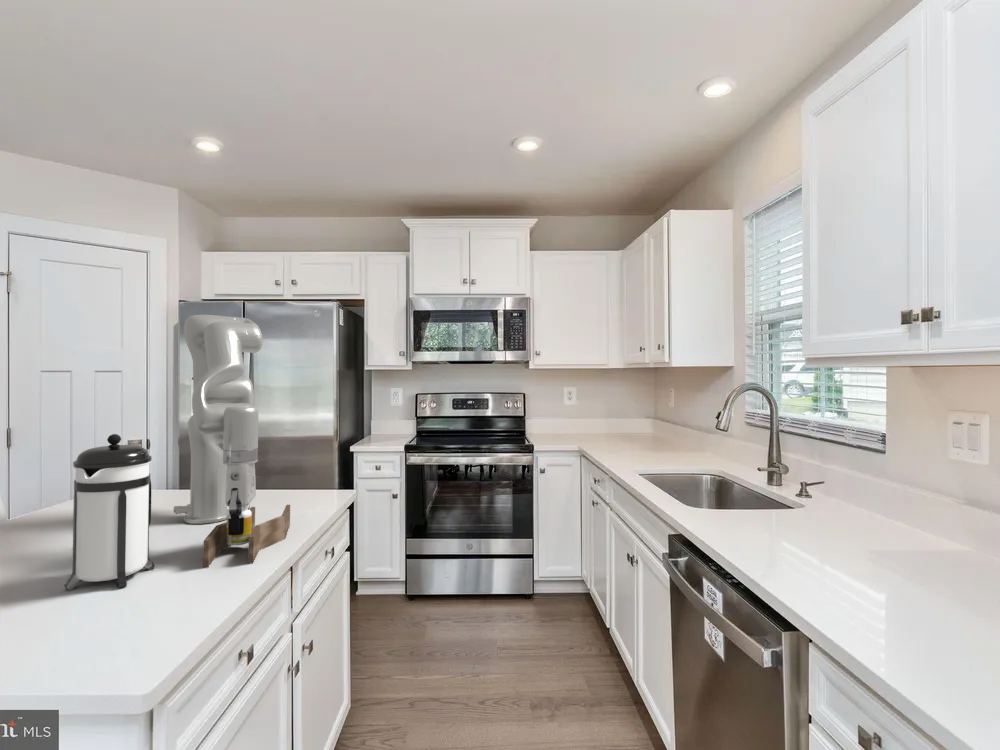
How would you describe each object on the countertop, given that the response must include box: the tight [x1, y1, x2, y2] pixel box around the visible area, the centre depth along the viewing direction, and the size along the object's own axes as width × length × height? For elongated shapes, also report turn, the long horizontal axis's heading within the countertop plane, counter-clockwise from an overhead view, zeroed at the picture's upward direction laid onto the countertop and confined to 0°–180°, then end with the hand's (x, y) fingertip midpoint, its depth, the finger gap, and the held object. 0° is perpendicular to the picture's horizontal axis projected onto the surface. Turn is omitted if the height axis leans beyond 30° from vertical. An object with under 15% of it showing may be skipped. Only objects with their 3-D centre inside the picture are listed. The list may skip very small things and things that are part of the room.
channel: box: [202, 504, 291, 569], centre depth 124 cm, size 15×28×6 cm, turn 18°
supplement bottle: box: [226, 502, 252, 546], centre depth 120 cm, size 5×5×10 cm
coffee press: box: [63, 433, 156, 591], centre depth 104 cm, size 17×16×30 cm
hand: (239, 529), depth 120 cm, fingers closed on supplement bottle, 5 cm apart
